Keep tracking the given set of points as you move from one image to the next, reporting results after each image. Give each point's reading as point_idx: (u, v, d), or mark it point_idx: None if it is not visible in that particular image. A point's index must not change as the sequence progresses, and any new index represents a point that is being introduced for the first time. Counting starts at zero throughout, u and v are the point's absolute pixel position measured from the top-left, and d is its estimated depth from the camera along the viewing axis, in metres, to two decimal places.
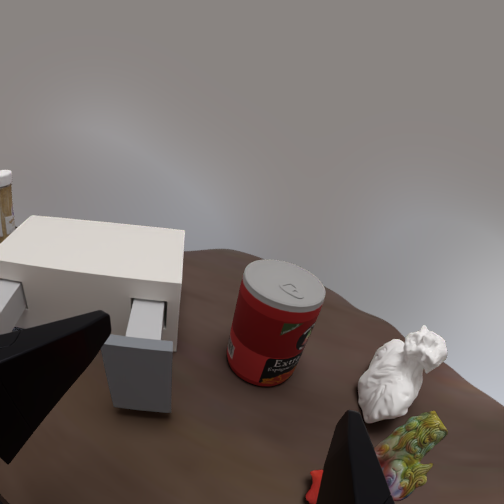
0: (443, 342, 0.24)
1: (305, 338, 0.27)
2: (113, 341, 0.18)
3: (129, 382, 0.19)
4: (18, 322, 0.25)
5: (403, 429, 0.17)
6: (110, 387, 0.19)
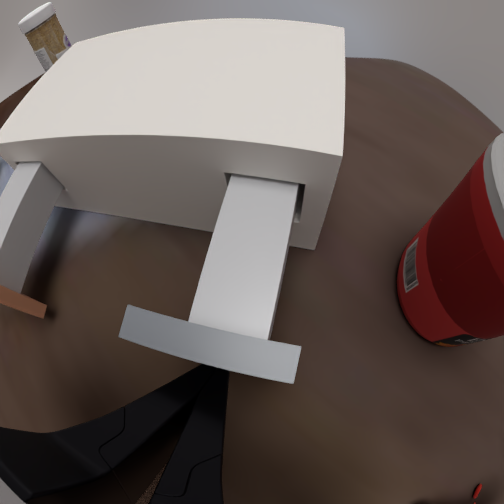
0: None
1: None
2: (148, 334, 0.08)
3: None
4: (65, 203, 0.20)
5: None
6: None
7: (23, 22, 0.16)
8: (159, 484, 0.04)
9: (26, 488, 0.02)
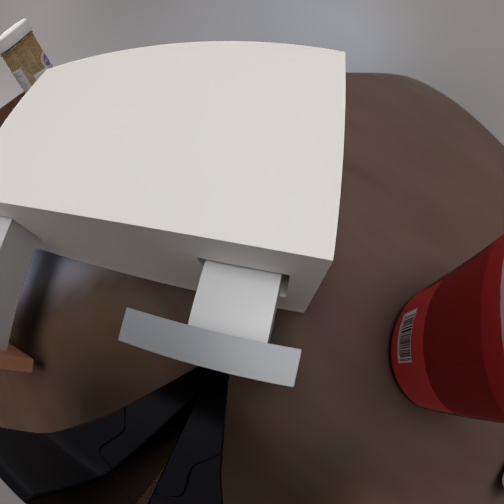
0: None
1: None
2: (147, 337, 0.08)
3: None
4: (45, 249, 0.19)
5: None
6: None
7: None
8: (158, 484, 0.04)
9: (26, 489, 0.02)
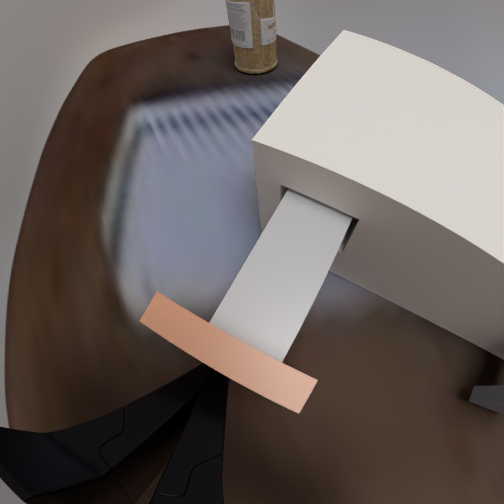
0: None
1: None
2: None
3: None
4: None
5: None
6: (498, 403, 0.10)
7: None
8: (159, 484, 0.04)
9: (26, 488, 0.02)
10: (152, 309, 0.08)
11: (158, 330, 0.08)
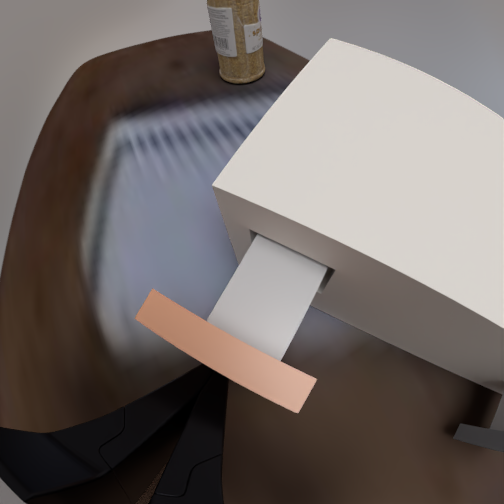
0: None
1: None
2: None
3: None
4: None
5: None
6: (482, 446, 0.09)
7: None
8: (159, 484, 0.04)
9: (26, 488, 0.02)
10: (147, 306, 0.08)
11: (153, 328, 0.08)
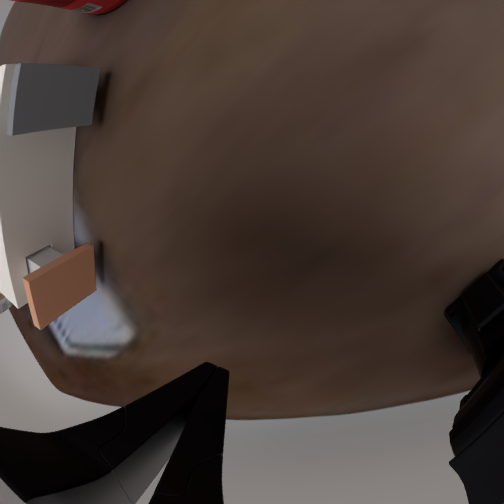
0: None
1: None
2: (11, 122, 0.13)
3: (57, 105, 0.16)
4: None
5: None
6: (65, 126, 0.18)
7: None
8: (159, 484, 0.04)
9: (26, 488, 0.02)
10: (37, 326, 0.20)
11: (38, 324, 0.20)
